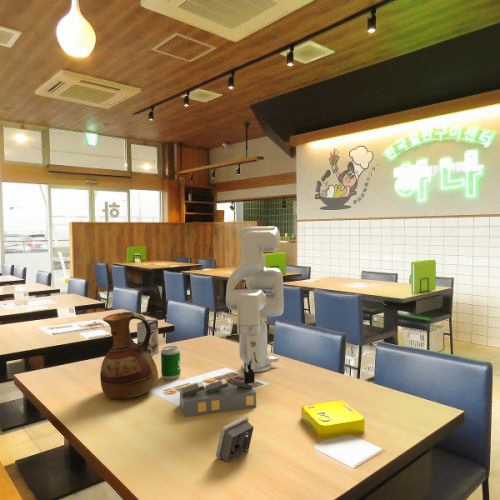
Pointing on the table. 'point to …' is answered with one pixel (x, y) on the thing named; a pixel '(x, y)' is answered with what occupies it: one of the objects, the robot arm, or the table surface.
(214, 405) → the switch housing
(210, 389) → the block
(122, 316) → the ceramic pitcher
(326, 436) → the element tile
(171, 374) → the soda can
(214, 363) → the table surface
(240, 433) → the electrical switch
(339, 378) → the table surface
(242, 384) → the rocker
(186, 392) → the rocker
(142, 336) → the coffee box
